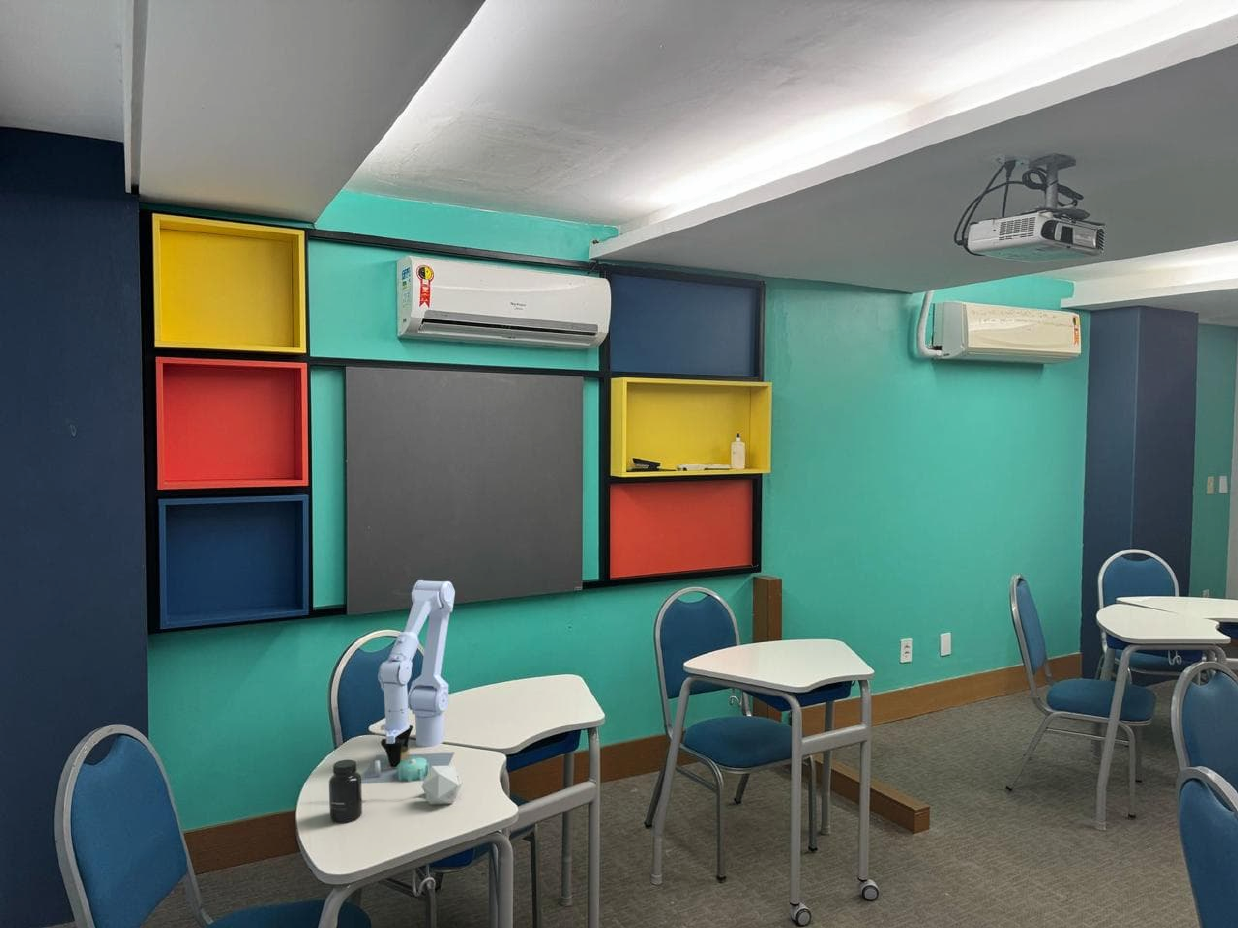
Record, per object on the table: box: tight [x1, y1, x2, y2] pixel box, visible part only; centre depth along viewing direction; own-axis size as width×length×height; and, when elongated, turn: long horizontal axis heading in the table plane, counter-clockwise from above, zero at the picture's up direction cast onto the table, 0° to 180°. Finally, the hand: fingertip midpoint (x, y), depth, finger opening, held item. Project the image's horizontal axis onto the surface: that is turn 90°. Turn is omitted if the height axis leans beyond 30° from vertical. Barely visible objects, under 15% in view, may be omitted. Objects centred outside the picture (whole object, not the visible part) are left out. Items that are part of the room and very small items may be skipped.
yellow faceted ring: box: [387, 746, 410, 766], centre depth 210 cm, size 5×5×3 cm
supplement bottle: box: [328, 759, 363, 824], centre depth 183 cm, size 7×7×12 cm
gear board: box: [361, 751, 455, 784], centre depth 207 cm, size 17×20×5 cm
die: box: [421, 764, 463, 806], centre depth 190 cm, size 8×9×10 cm
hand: (398, 761), depth 210 cm, fingers open, 6 cm apart
